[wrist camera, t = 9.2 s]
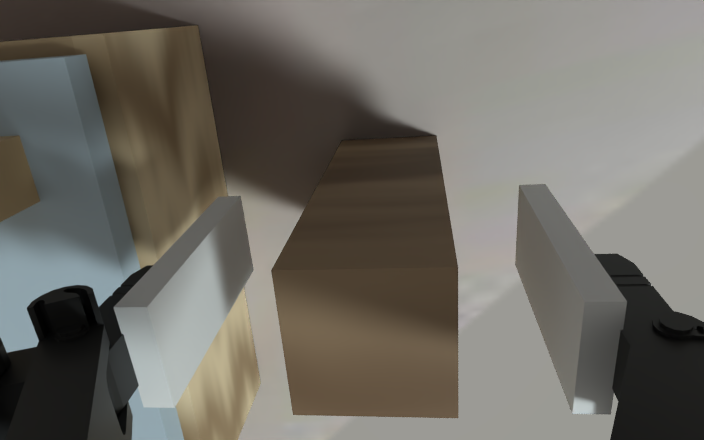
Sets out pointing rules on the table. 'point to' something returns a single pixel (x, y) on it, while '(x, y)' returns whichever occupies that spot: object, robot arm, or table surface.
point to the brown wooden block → (372, 287)
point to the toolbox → (167, 184)
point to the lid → (61, 205)
